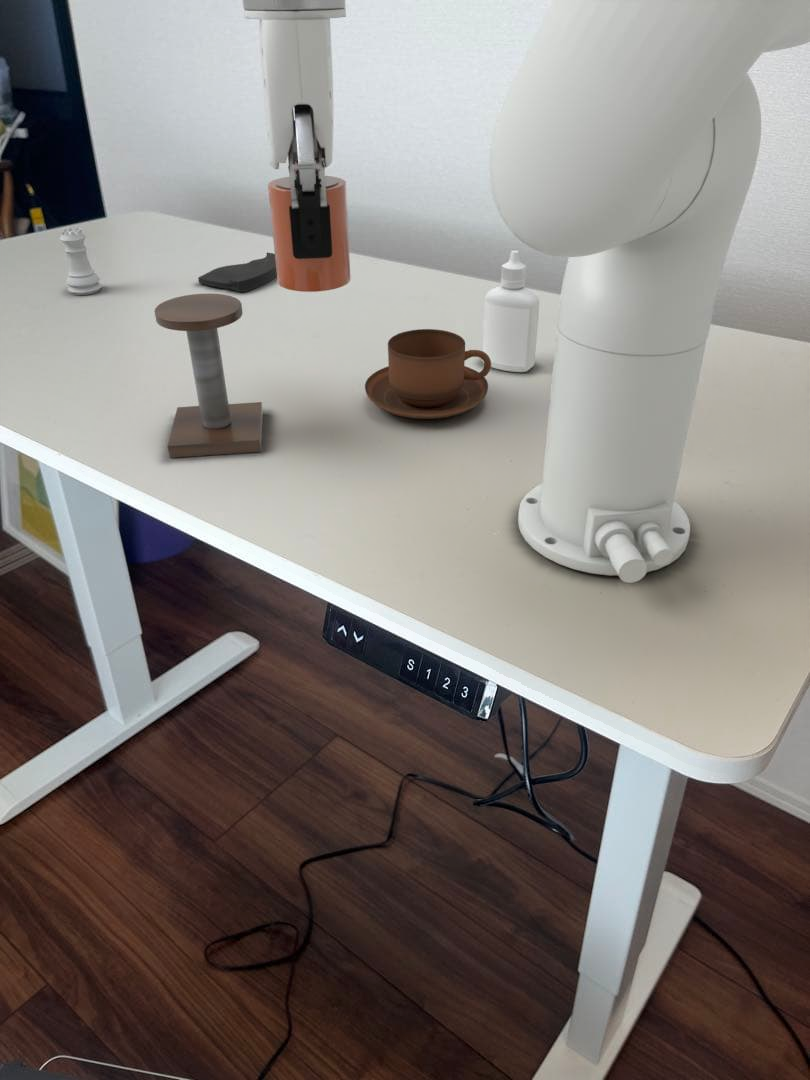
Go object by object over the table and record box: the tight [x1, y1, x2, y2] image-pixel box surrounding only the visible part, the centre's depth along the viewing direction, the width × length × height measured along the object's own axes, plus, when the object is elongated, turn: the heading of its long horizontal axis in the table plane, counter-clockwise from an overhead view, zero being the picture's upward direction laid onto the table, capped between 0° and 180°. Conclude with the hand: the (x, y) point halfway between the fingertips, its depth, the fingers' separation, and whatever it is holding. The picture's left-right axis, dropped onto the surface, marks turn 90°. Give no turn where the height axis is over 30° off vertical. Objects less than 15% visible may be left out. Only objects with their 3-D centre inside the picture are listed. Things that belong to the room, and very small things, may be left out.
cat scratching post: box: [154, 293, 264, 459], centre depth 72 cm, size 8×8×12 cm
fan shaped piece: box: [197, 252, 277, 294], centre depth 115 cm, size 8×14×2 cm, turn 147°
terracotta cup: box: [267, 175, 351, 293], centre depth 70 cm, size 6×6×8 cm
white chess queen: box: [59, 227, 103, 296], centre depth 109 cm, size 4×4×8 cm
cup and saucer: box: [364, 328, 492, 420], centre depth 79 cm, size 12×12×6 cm
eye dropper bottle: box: [481, 250, 540, 373], centre depth 85 cm, size 4×6×12 cm
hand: (311, 243), depth 70 cm, fingers closed on terracotta cup, 6 cm apart
